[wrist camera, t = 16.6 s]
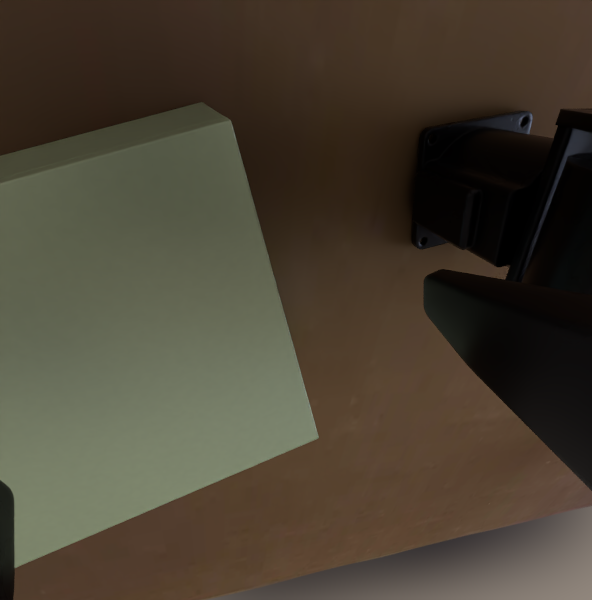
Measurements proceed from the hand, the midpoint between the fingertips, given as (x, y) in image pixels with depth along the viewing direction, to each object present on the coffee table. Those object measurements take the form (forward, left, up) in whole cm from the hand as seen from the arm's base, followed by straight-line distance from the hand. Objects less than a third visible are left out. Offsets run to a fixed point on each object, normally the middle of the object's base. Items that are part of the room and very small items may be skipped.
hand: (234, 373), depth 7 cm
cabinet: (+6, +4, -12) cm, 14 cm away
